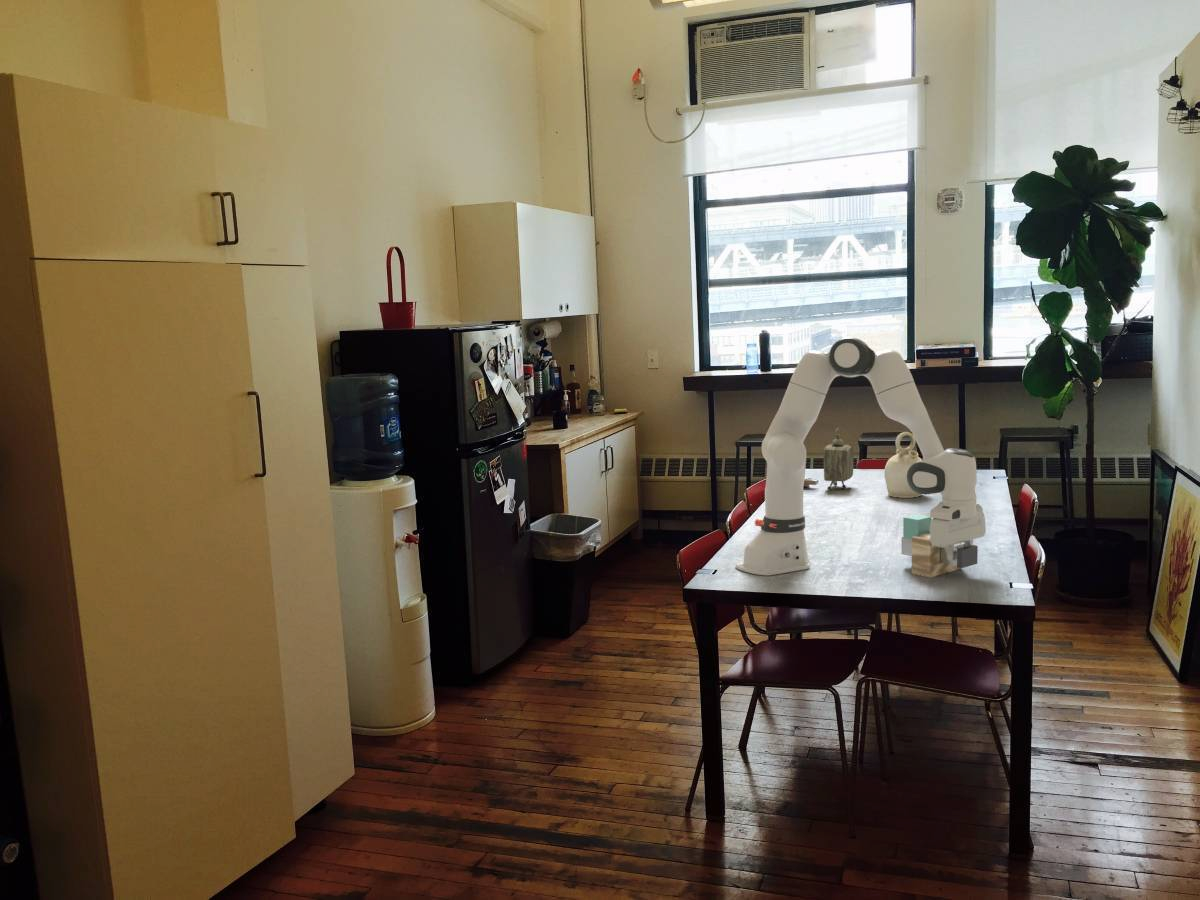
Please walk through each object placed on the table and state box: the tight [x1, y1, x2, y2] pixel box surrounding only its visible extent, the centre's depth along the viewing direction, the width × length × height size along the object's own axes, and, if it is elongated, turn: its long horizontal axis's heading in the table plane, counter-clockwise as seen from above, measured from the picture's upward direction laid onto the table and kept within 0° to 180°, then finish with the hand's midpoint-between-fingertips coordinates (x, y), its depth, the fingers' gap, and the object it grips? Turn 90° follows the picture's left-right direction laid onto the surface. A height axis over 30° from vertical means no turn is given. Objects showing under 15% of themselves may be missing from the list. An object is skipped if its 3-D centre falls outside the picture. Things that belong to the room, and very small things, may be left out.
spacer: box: [902, 514, 932, 540], centre depth 282 cm, size 6×5×6 cm
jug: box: [883, 431, 923, 499], centre depth 384 cm, size 15×16×25 cm
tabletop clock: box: [823, 427, 854, 491], centre depth 404 cm, size 14×9×25 cm, turn 154°
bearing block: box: [911, 532, 962, 579], centre depth 277 cm, size 14×6×10 cm, turn 125°
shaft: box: [901, 536, 979, 569], centre depth 277 cm, size 7×20×5 cm, turn 35°
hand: (958, 557), depth 272 cm, fingers closed on shaft, 5 cm apart
